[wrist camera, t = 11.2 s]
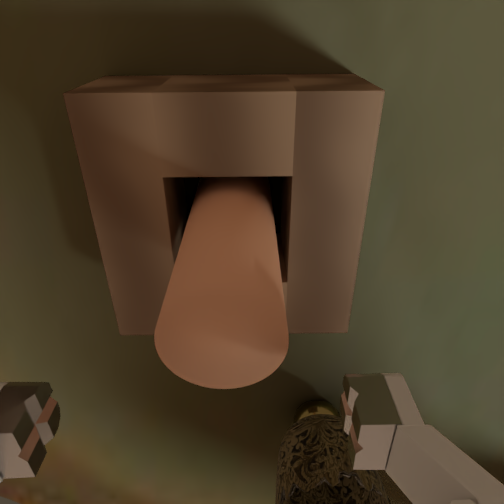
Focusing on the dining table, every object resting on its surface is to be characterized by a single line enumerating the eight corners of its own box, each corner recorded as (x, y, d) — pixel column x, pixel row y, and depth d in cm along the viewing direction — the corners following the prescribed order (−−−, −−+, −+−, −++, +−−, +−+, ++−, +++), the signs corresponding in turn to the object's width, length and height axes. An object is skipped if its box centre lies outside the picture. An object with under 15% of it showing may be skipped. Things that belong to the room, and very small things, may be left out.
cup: (260, 433, 33) (263, 542, 26) (281, 373, 30) (291, 481, 23) (344, 444, 34) (368, 552, 27) (375, 387, 30) (412, 495, 24)
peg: (270, 155, 21) (291, 288, 11) (269, 222, 23) (286, 388, 13) (195, 155, 21) (145, 289, 11) (201, 223, 23) (163, 389, 13)
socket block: (354, 73, 19) (384, 90, 15) (330, 278, 25) (347, 332, 21) (105, 75, 19) (62, 93, 15) (142, 280, 25) (120, 335, 21)
